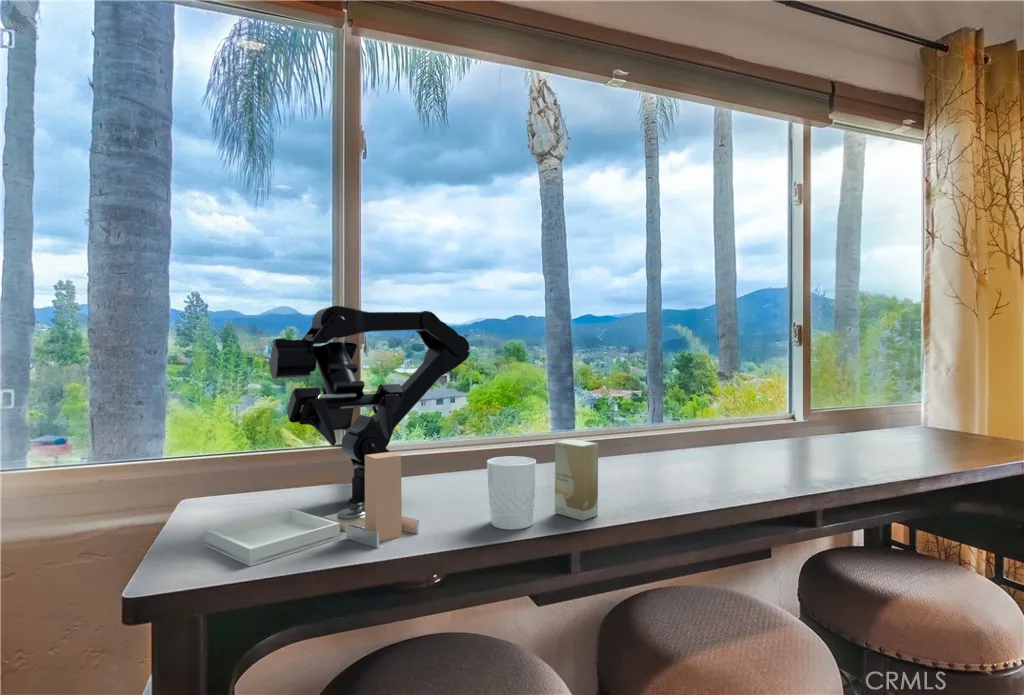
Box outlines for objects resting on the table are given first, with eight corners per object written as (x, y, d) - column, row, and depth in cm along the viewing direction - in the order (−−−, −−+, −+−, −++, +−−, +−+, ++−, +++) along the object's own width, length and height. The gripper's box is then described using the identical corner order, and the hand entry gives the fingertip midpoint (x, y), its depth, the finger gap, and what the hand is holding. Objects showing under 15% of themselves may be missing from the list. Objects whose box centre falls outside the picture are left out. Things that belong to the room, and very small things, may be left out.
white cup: (547, 523, 83) (546, 460, 83) (511, 535, 78) (510, 467, 78) (512, 513, 89) (512, 454, 89) (477, 523, 83) (476, 460, 84)
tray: (291, 522, 85) (291, 508, 85) (340, 538, 77) (340, 523, 77) (204, 545, 74) (204, 530, 75) (250, 566, 66) (250, 549, 67)
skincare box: (553, 513, 88) (552, 441, 89) (570, 508, 91) (569, 438, 92) (584, 521, 84) (582, 445, 84) (600, 516, 87) (599, 442, 87)
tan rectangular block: (364, 535, 78) (364, 455, 78) (389, 530, 81) (389, 452, 81) (376, 542, 75) (375, 458, 75) (401, 536, 77) (401, 455, 78)
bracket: (359, 514, 89) (359, 494, 89) (424, 531, 80) (424, 509, 80) (312, 527, 82) (312, 506, 82) (376, 548, 73) (376, 524, 73)
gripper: (373, 399, 103) (399, 463, 94) (273, 405, 91) (291, 479, 83) (391, 358, 97) (420, 423, 88) (285, 359, 85) (307, 434, 77)
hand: (362, 440), depth 84 cm, fingers open, 9 cm apart
